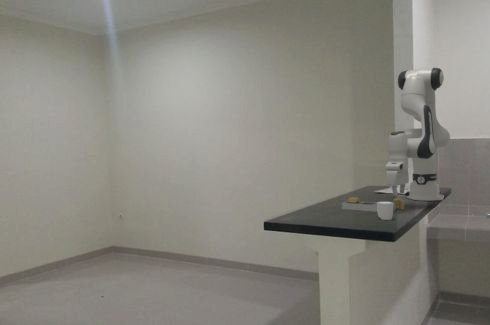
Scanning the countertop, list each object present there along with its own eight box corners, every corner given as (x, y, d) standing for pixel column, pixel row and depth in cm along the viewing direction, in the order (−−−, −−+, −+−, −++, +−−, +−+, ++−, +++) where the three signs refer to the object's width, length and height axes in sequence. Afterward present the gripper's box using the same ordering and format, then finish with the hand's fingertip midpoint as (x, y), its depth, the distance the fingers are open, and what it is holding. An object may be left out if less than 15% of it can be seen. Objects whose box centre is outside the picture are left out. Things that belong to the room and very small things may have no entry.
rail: (349, 207, 203) (349, 200, 203) (395, 211, 189) (395, 203, 188) (341, 210, 197) (341, 202, 197) (388, 214, 182) (388, 206, 182)
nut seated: (351, 207, 200) (351, 197, 200) (359, 207, 198) (359, 197, 197) (348, 208, 197) (348, 198, 197) (356, 209, 194) (355, 198, 194)
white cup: (393, 220, 169) (393, 203, 169) (376, 219, 171) (376, 203, 171) (393, 217, 175) (393, 201, 175) (377, 216, 178) (376, 201, 177)
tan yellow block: (395, 208, 197) (395, 198, 197) (404, 209, 195) (404, 198, 194) (392, 209, 194) (392, 199, 194) (401, 210, 192) (401, 200, 191)
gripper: (398, 164, 203) (399, 192, 203) (384, 166, 187) (384, 196, 187) (411, 164, 199) (412, 192, 199) (397, 166, 183) (398, 196, 183)
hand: (398, 194), depth 193 cm, fingers open, 8 cm apart
